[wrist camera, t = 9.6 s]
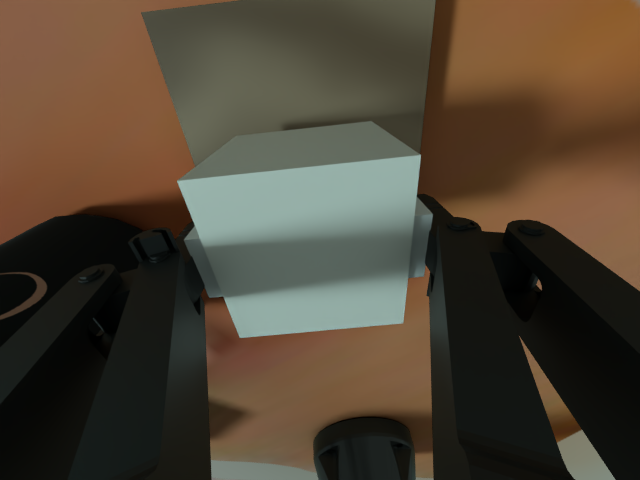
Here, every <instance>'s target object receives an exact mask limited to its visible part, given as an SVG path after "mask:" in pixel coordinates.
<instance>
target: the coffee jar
mask: <svg viewBox="0 0 640 480" xmlns="http://www.w3.org/2000/svg"><path fill="white" fill-rule="evenodd" d="M142 232H143V231H141V230H140V229H139V228H137V227H134V226H132V225H129V224H127V223H125V222H122V221H120V220H118V219H112V218H107V217H102V216H96V215H93V216H92V215H87V214H83V215H70V216H58V217H54V218H52V219H50V220H47V221H45V222H43V223H41V224H39V225H37V226H35V227H33V228H31V229H29V230H27V231H26V232H24V233H22V234H20V235H18V236H16V237H14V238H12V239H11V240H9V241H7V242H5V243H3V244H1V245H0V347H1V346H2V345H3V344H4V343H5V342H6V341H7V340H8V339H9V338H10V337H11V336H13V335H14V334H15V333H16V332H17V331H18V330H19V329H20V328H21V327H22V326H23V325H24V324H25V323H26V322H27V321H28V320H29V319H30V318H31V317H32V316H33V315H34V314H35V313H36V312H37V311H38V310H39V309H40V308H41V307H42V306H43V305H45V304H46V303H47V302H48V301H49V300H50V299H51V298H52V297H53V296H54V295H55V294H56V293H57V292H58V291H59V290H60V289H61V288H62V287H63V286H64V285H65V284H66V283H67V282H68V281H69V280H70V279H72V278H73V277H74V276H75V275H77V274H78V273H80V272H82V271H83V270H84V269H86V268H90V267H92V266H95V265H96V266H97V265H101V264H112V265H114V267H115V268H116V270H117V271H118V273H123V272H127V271H130V270H134V269H137V268H138V265H139V261H138V259H137V258H136V256H135V254H134V252H133V251H132V249H131V247H130V245H129V244H128V242H129V241H130V239H131V238H133V237H134V236H136V235H138V234H140V233H142ZM88 328H89V330H90V331H91V332H92V333H93V334H94V335H97V334H98V333H99V331H100V330H101V328H100V327H99V326H98V324H97V323H96V322H95V321H94V320H93V319H92V321H91V322H90V323H89V326H88Z"/></svg>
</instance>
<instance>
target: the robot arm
mask: <svg viewBox="0 0 640 480" xmlns="http://www.w3.org/2000/svg"><path fill="white" fill-rule="evenodd" d="M128 244H129V245H130V247H131V249H132V251H133V252H134V254H135V256H136V258H137V259H138V261H139V265H138V268H137V269H134V270H130V271H127V272H123V273H118V271H117V270H116V268H115V267H114V265H112V264H101V265H97V266H96V265H95V266H92V267H90V268H86V269H84V270H83V271H82V272H80V273H78V274H77V275H75V276H74V277H73V278H72V279H70V280H69V281H68V282H67V283H66V284H65V285H64V286H63V287H62V288H61V289H60V290H59V291H58V292H57V293H56V294H55V295H54V296H53V297H52V298H51V299H50V300H49V301H48V302H47V303H46V304H45V305H43V306H42V307H41V308H40V309H39V310H38V311H37V312H36V313H35V314H34V315H33V316H32V317H31V318H30V319H29V320H28V321H27V322H26V323H25V324H24V325H23V326H22V327H21V328H20V329H19V330H18V331H17V332H16V333H15V334H14V335H13V336H11V337H10V338H9V339H8V340H7V341H6V342H5V343H4V344H3V345H2V346H1V347H0V480H211V457H210V432H209V408H208V384H207V359H206V335H205V311H204V302H203V300H202V297H201V293H202V291H203V289H204V287H205V289H206V292H207V294H208V296H209V298H212V297H222V296H223V294H222V292H221V290H220V287H219V285H218V282H217V280H216V277H215V275H214V272H213V270H212V267H211V265H210V262H209V260H208V257H207V255H206V252H205V250H204V247H203V245H202V242H201V240H200V237H199V235H198V232H197V230H196V227H195V225H194V222H193V221H192V222H191V223H189V224H188V225H187V226H186V227H185V228H184V230H183V231H182V232H181V233H180V234H179V236H178V237H177V238H176V239H174V237H173V235H172V233H171V230H170V229H168V228H155V229H150V230H147V231H144V232H142V233H140V234H138V235H136V236H134V237H133V238H131V239H130V241H129V242H128ZM425 265H426V266H427V267H428V269H429V270H430V278H429V284H428V290H427V296H429V305H430V347H431V388H432V430H433V472H434V480H575V479H574V478H573V477H572V476H571V474H570V473H569V472H568V470H567V468H566V466H565V464H564V461H563V459H562V456H561V454H560V451H559V448H558V445H557V442H556V439H555V437H554V434H553V431H552V428H551V425H550V422H549V420H548V417H547V414H546V411H545V408H544V405H543V403H542V400H541V397H540V394H539V391H538V388H537V386H536V383H535V380H534V377H533V374H532V371H531V369H530V366H529V363H528V360H527V357H526V354H525V352H524V349H523V346H522V343H521V340H520V337H521V339H522V340H523V342H524V343H525V345H526V346H527V348H528V349H529V351H530V352H531V354H532V355H533V357H534V358H535V360H536V361H537V363H538V364H539V366H540V367H541V369H542V370H543V372H544V373H545V375H546V376H547V378H548V379H549V381H550V382H551V384H552V385H553V387H554V388H555V390H556V391H557V393H558V394H559V396H560V397H561V399H562V400H563V402H564V403H565V405H566V406H567V408H568V409H569V411H570V412H571V414H572V415H573V417H574V418H575V420H576V421H577V423H578V424H579V426H580V427H581V429H582V430H583V431H584V433H585V435H586V436H587V438H588V439H589V441H590V442H591V444H592V445H593V447H594V448H595V449H596V451H597V452H598V454H599V456H600V457H601V459H602V460H603V461H604V463H605V464H606V466H607V467H608V469H609V470H610V472H611V473H612V475H613V476H614V478H615V479H616V480H640V291H638V290H637V289H636V288H634V287H633V286H632V285H630V284H629V283H628V282H626V281H625V280H623V279H622V278H621V277H619V276H618V275H617V274H615V273H614V272H613V271H611V270H610V269H608V268H607V267H606V266H604V265H603V264H602V263H600V262H599V261H598V260H596V259H595V258H593V257H592V256H591V255H589V254H588V253H587V252H585V251H584V250H583V249H581V248H580V247H578V246H577V245H576V244H574V243H573V242H572V241H570V240H569V239H567V238H566V237H565V236H563V235H562V234H561V233H559V232H558V231H557V230H555V229H554V228H552V227H550V226H548V225H546V224H543V223H540V222H538V221H533V220H516V221H512V222H510V223H508V225H507V228H506V231H505V233H499V232H485V231H482V230H481V227H480V226H479V225H478V223H476V222H474V221H472V220H469V219H466V218H460V217H453V216H452V215H451V214H450V213H449V212H448V211H447V210H446V209H445V208H443V206H441V205H440V204H438V202H437V201H436V200H435V199H434V198H433V197H430V196H428V195H426V194H418V195H417V197H416V207H415V216H414V226H413V235H412V245H411V254H410V263H409V273H408V278H412V277H422V276H424V272H425ZM538 279H539V280H540V282H541V285H542V290H540V289H539V288H538V286H537V285H536V284H537V281H538ZM92 319H93V320H94V321H95V322H96V323H97V324H98V326H99V327H100V328H101V330H100V331H99V333H98V334H97V335H94V334H93V333H92V332H91V331H90V330H89V328H88V326H89V323H90V322H91V321H92ZM519 336H520V337H519ZM313 450H314V464H315V468H316V471H317V475H318V478H319V480H415V479H416V477H415V450H414V445H413V442H412V438H411V435H410V432H409V430H408V429H407V428H406V427H405V426H404V425H402V424H400V423H398V422H396V421H392V420H388V419H382V418H359V419H352V420H347V421H343V422H339V423H336V424H334V425H331V426H329V427H327V428H325V429H324V430H322V431H321V432H320V433H319V434H318V435H317V436H316V437H315V439H314V442H313Z"/></svg>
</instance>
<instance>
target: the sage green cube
mask: <svg viewBox="0 0 640 480" xmlns="http://www.w3.org/2000/svg"><path fill="white" fill-rule="evenodd" d="M420 160H421V155H420V154H419V153H417V152H416V151H414V150H413V149H411V148H410V147H409V146H407V145H406V144H404V143H403V142H401V141H400V140H398V139H397V138H395V137H394V136H392V135H391V134H390V133H388V132H387V131H385V130H384V129H382V128H381V127H379V126H378V125H376V124H375V123H374V122H372V121H367V122H358V123H349V124H340V125H331V126H322V127H313V128H304V129H294V130H285V131H276V132H267V133H258V134H249V135H240V136H235V137H234V138H233V139H231V140H230V141H229V142H227V143H226V144H225V145H224V146H222V147H221V148H220V149H218V150H217V151H216V152H214V153H213V154H212V155H210V156H209V157H208V158H206V159H205V160H204V161H203V162H201V163H200V164H199V165H197V166H196V167H195V168H193V169H192V170H191V171H189V172H188V173H187V174H185V175H184V176H183V177H182V178H180V179H179V180H178V181H177V182H178V185H179V187H180V190H181V192H182V195H183V197H184V200H185V202H186V205H187V207H188V210H189V212H190V215H191V217H192V220H193V222H194V225H195V227H196V230H197V232H198V235H199V237H200V240H201V242H202V245H203V247H204V250H205V252H206V255H207V257H208V260H209V262H210V265H211V267H212V270H213V272H214V275H215V277H216V280H217V282H218V285H219V287H220V290H221V292H222V294H223V297H224V299H225V302H226V304H227V307H228V309H229V312H230V314H231V317H232V319H233V322H234V324H235V327H236V329H237V332H238V334H239V337H240V338H245V337H256V336H267V335H278V334H289V333H300V332H311V331H322V330H333V329H344V328H355V327H366V326H377V325H388V324H399V323H403V320H404V310H405V301H406V292H407V282H408V273H409V263H410V254H411V245H412V235H413V226H414V216H415V207H416V197H417V188H418V179H419V169H420Z"/></svg>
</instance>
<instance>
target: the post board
mask: <svg viewBox="0 0 640 480" xmlns="http://www.w3.org/2000/svg"><path fill="white" fill-rule="evenodd" d="M435 2H436V0H239V1H231V2H223V3H215V4H207V5H198V6H190V7H182V8H174V9H166V10H158V11H149V12H141V14H142V16H143V19H144V22H145V25H146V28H147V31H148V33H149V36H150V39H151V42H152V45H153V48H154V51H155V53H156V56H157V59H158V62H159V65H160V68H161V70H162V73H163V76H164V79H165V82H166V85H167V87H168V90H169V93H170V96H171V99H172V102H173V104H174V107H175V110H176V113H177V116H178V119H179V121H180V124H181V127H182V130H183V133H184V136H185V139H186V141H187V144H188V147H189V150H190V153H191V156H192V158H193V161H194V164H195V167H196V166H197V165H199V164H200V163H201V162H203V161H204V160H205V159H206V158H208V157H209V156H210V155H212V154H213V153H214V152H216V151H217V150H218V149H220V148H221V147H222V146H224V145H225V144H226V143H227V142H229V141H230V140H231V139H233V138H234V137H235V136H240V135H249V134H258V133H267V132H276V131H285V130H294V129H304V128H313V127H322V126H331V125H340V124H349V123H358V122H367V121H372V122H374V123H375V124H376V125H378V126H379V127H381V128H382V129H384V130H385V131H387V132H388V133H390V134H391V135H392V136H394V137H395V138H397V139H398V140H400V141H401V142H403V143H404V144H406V145H407V146H409V147H410V148H411V149H413V150H414V151H416V152H417V153H419V154H420V148H421V138H422V129H423V119H424V109H425V99H426V90H427V80H428V70H429V60H430V51H431V41H432V31H433V21H434V12H435Z"/></svg>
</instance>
